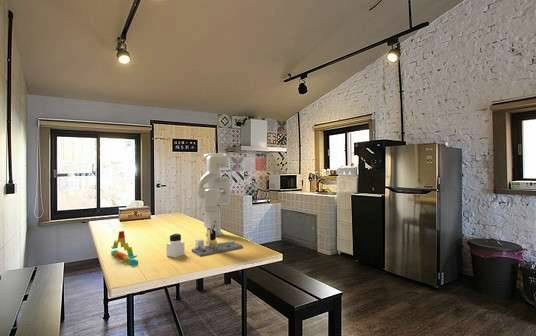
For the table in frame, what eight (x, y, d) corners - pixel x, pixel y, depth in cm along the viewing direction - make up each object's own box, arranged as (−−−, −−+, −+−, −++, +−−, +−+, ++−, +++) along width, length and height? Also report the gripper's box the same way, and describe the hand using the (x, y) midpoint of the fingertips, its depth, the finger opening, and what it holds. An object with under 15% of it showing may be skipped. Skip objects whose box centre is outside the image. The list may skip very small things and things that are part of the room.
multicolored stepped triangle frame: (138, 264, 158) (138, 235, 158) (132, 265, 155) (132, 236, 155) (117, 253, 179) (116, 227, 179) (111, 254, 176) (110, 228, 176)
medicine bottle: (184, 254, 173) (184, 233, 173) (175, 257, 167) (174, 236, 167) (176, 252, 177) (175, 232, 177) (166, 256, 170) (166, 234, 170)
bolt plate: (191, 251, 178) (191, 240, 178) (232, 243, 195) (232, 233, 195) (200, 256, 169) (200, 244, 169) (242, 247, 186) (242, 237, 186)
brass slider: (206, 245, 184) (206, 229, 184) (213, 244, 187) (213, 228, 187) (212, 248, 177) (212, 231, 177) (220, 247, 180) (220, 230, 180)
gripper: (199, 208, 188) (200, 237, 188) (211, 211, 174) (212, 242, 175) (210, 207, 192) (211, 235, 192) (223, 209, 179) (223, 240, 179)
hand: (211, 238), depth 183 cm, fingers closed on brass slider, 3 cm apart
